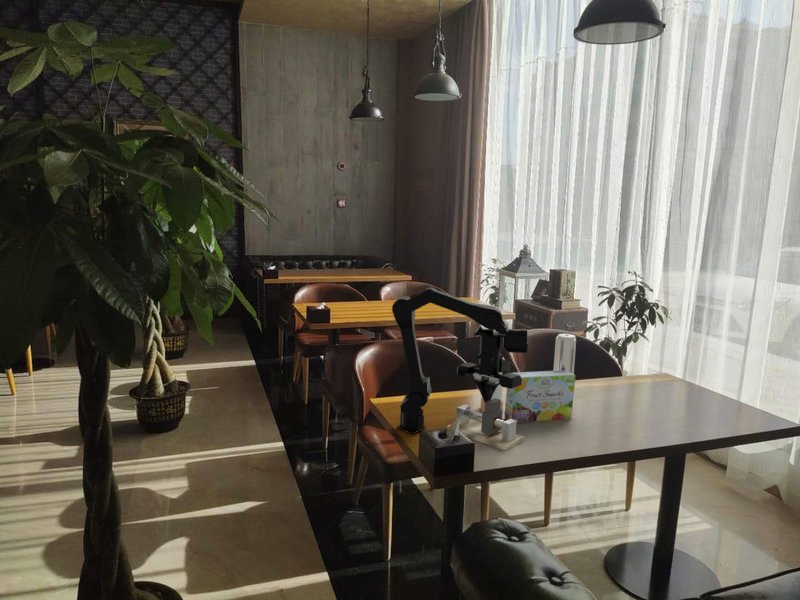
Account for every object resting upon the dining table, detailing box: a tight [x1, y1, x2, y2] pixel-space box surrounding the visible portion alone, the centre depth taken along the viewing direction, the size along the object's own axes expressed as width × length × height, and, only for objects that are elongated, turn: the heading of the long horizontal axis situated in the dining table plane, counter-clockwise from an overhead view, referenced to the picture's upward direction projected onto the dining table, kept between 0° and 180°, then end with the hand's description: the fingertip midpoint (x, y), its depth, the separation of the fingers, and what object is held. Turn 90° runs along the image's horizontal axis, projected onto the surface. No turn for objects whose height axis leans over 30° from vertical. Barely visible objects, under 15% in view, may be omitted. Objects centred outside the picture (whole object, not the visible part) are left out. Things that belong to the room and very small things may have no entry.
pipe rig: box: [455, 404, 518, 442], centre depth 163 cm, size 18×4×5 cm, turn 47°
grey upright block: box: [481, 398, 504, 435], centre depth 161 cm, size 3×6×9 cm, turn 137°
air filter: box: [552, 333, 577, 374], centre depth 188 cm, size 6×6×25 cm
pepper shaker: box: [480, 356, 506, 412], centre depth 184 cm, size 7×7×19 cm
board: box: [446, 418, 525, 452], centre depth 164 cm, size 20×10×1 cm, turn 47°
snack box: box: [504, 370, 576, 424], centre depth 178 cm, size 21×6×15 cm, turn 106°
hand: (487, 403), depth 162 cm, fingers closed
